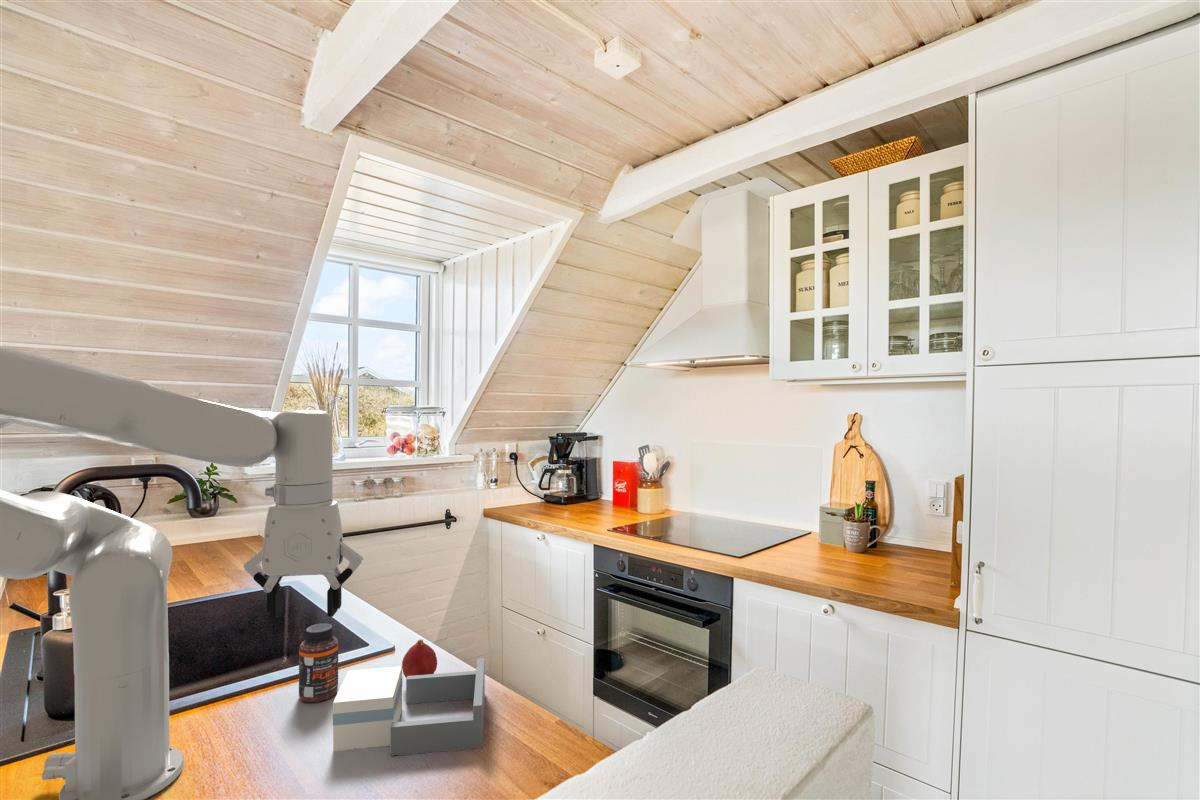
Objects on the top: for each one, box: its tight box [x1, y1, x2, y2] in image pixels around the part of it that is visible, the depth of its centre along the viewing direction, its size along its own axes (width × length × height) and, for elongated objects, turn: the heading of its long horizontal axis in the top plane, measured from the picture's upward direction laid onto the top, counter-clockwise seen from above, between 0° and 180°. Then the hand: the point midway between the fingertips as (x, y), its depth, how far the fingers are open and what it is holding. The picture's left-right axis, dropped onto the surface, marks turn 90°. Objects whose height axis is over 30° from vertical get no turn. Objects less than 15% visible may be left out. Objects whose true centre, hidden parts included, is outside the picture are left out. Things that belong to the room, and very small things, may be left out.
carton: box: [332, 665, 403, 752], centre depth 90 cm, size 8×10×7 cm
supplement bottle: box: [298, 623, 339, 703], centre depth 100 cm, size 6×6×11 cm
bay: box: [390, 657, 486, 757], centre depth 92 cm, size 12×15×6 cm
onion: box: [401, 638, 438, 679], centre depth 104 cm, size 6×6×8 cm
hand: (304, 614), depth 88 cm, fingers open, 7 cm apart
